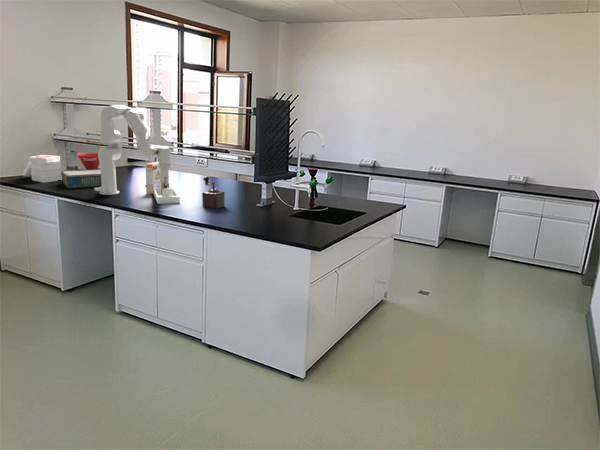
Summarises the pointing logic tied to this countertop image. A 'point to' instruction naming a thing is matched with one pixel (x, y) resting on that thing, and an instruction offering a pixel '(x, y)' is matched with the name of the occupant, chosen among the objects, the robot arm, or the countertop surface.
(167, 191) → the white block
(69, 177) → the metal box
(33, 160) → the pizza boxes
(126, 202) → the countertop surface
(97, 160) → the fire bucket
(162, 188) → the light wooden cube
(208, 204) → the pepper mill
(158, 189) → the tray
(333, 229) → the countertop surface
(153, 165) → the cracker box
